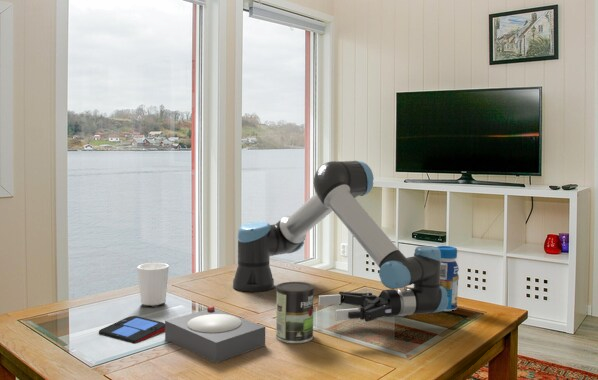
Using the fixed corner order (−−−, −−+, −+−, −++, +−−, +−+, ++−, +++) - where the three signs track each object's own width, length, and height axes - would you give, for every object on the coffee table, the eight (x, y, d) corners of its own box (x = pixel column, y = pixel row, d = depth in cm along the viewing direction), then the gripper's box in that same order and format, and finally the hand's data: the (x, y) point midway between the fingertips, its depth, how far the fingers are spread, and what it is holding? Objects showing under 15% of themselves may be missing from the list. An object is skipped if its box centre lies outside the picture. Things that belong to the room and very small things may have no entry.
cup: (139, 310, 163) (139, 270, 162) (135, 301, 172) (135, 263, 171) (171, 307, 167) (171, 267, 166) (166, 298, 176) (166, 261, 175)
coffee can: (320, 335, 145) (321, 285, 144) (300, 346, 136) (301, 293, 135) (289, 327, 150) (289, 279, 149) (268, 338, 141) (268, 287, 140)
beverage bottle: (425, 305, 174) (427, 245, 172) (447, 303, 177) (450, 244, 175) (440, 312, 166) (442, 250, 164) (462, 310, 169) (465, 249, 167)
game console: (97, 335, 143) (97, 327, 143) (132, 321, 154) (132, 314, 154) (135, 345, 136) (135, 337, 136) (169, 331, 147) (169, 323, 147)
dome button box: (165, 338, 140) (165, 316, 139) (213, 324, 151) (213, 304, 151) (216, 363, 125) (216, 338, 124) (265, 345, 136) (265, 322, 136)
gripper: (378, 278, 163) (313, 282, 157) (418, 302, 139) (344, 307, 133) (377, 302, 163) (312, 307, 157) (417, 329, 140) (343, 336, 133)
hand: (327, 307), depth 145 cm, fingers open, 13 cm apart
